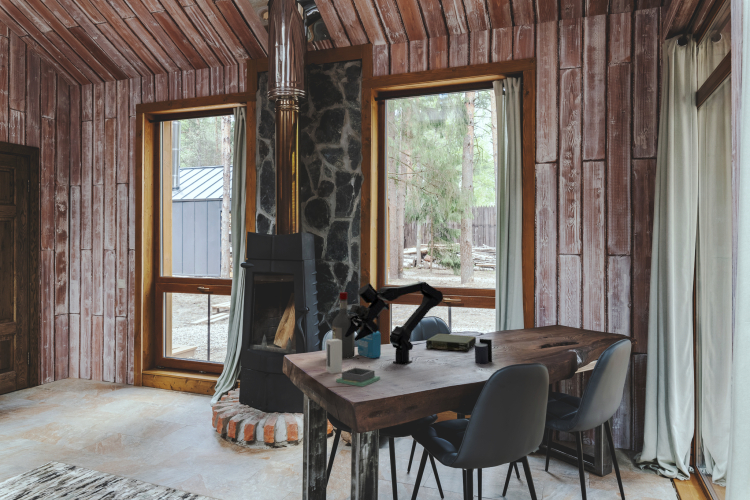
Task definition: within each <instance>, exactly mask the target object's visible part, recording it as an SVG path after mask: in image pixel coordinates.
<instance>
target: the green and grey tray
mask: <svg viewBox="0 0 750 500" xmlns="http://www.w3.org/2000/svg"><path fill="white" fill-rule="evenodd" d="M375 372H376V371H375V370H373V369H366V368H360V367H353V368H350V369H348V370H345V371H342V372H341V377H339V378H336V383H341V384H345V385H351V386H356V387H357V386H358V387H365V386H368V385H370V384H372V383H375V382H377V381H379V380H381V376H378V375H376V373H375Z"/></svg>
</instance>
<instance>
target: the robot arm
mask: <svg viewBox="0 0 750 500" xmlns="http://www.w3.org/2000/svg"><path fill="white" fill-rule="evenodd" d="M417 292H420V294H421V295H422V299H421V303H420V304H419V306H417V308H416V309H415V310H414V312H413V313H412V314H411V315H410V317H409V318H408V319H407V320H406V321H405V322H404V324H403V325H402V326H398V325H396V326H395V327H394V329H393V330H392V331H390V335H389V342H390V343H391V345H392V348H395V353H394V355H395V356H394V357H395V360H393V361H392V363H393V364H397V365H398V364H399V365H408V364H410V363H412V362H413V360H410V351H412V350H413V347H414V344H413V343H412V342H411V341H410V340H411V337H412V332H414V330H415V328H417V326H418V325H419V323H420V322H422V320H423V319H424V318H425V317H426V315H427V314H428V312H429V311H430V310H432V309H433V308H435V307H436V306H439V304H441V303H442V302H443V300H444V294H443V292H442V291H440V290H437V289H436V288H435V287H433V286H432V285H430V284H429V283H428V282H426V281H422V280H421V281H420V280H419V281H417V282H413V283H409V284H404V285H399V286H382V287H381V288H380V289H377V290H376V289H375V288H374V287H373V285H372V284H371V283H367V284H365V285H363V286H361V287H360V288H359V289H358V291H357V295H358V296H359V297H360V298H361V299H362V301H364V302H365V304H369V305H368V306H367V307H366V306H365V305H363V304H361V305H355V304H352V305H351V307H350V310H349V312H350V313H353V314H349V315H350V316H349V317H348V321H349V326H348V329H347V331H346V334H345V337H348V336H350V335H351V334H353V333H354V332H357V334H356V336H355V339H354V340H355V342H358V340H359V339H361V338H363V337H366V336H368V335H370V334H373V332H374V333H376V332H377V331H378V332H379V325H378V324H377V323H376V322H375V320H378V319H379V318H380V317H379V315H380V314H381V312H383V310H388V311H389V310H390V305H389V302H393V301H395V300H397V299H398V298H400V297H402V296H405V295H410V294H414V293H417ZM385 301H388V302H385ZM359 330H360V331H359ZM358 331H359V332H358Z"/></svg>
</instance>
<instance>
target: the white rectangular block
mask: <svg viewBox="0 0 750 500" xmlns="http://www.w3.org/2000/svg"><path fill="white" fill-rule="evenodd" d="M325 342H326V352H325V353H326V359H325V361H326V367H325V368H326V371H325V372H327V373H329V374H331V375H333V374H340V373H341V374H342V372H343V359H342V340H339V339H332V338H331V339H326V341H325Z"/></svg>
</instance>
